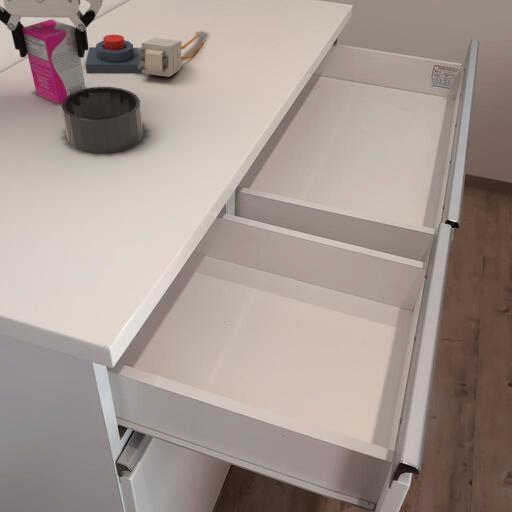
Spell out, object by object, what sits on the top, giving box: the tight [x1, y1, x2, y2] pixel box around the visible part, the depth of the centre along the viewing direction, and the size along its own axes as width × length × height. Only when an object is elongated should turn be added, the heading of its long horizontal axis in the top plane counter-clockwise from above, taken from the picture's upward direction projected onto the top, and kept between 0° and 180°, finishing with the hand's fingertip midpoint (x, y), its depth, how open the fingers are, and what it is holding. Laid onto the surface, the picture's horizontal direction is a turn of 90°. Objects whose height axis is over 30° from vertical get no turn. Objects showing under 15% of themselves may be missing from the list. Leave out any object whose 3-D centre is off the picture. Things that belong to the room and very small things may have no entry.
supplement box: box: [22, 18, 86, 105], centre depth 85 cm, size 6×6×12 cm
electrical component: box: [136, 31, 207, 78], centre depth 103 cm, size 24×6×5 cm, turn 168°
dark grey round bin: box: [61, 86, 144, 155], centre depth 78 cm, size 11×11×6 cm
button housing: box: [84, 39, 143, 74], centre depth 100 cm, size 10×8×4 cm
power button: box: [102, 34, 125, 50], centre depth 98 cm, size 4×4×2 cm
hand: (53, 53), depth 84 cm, fingers closed on supplement box, 8 cm apart
